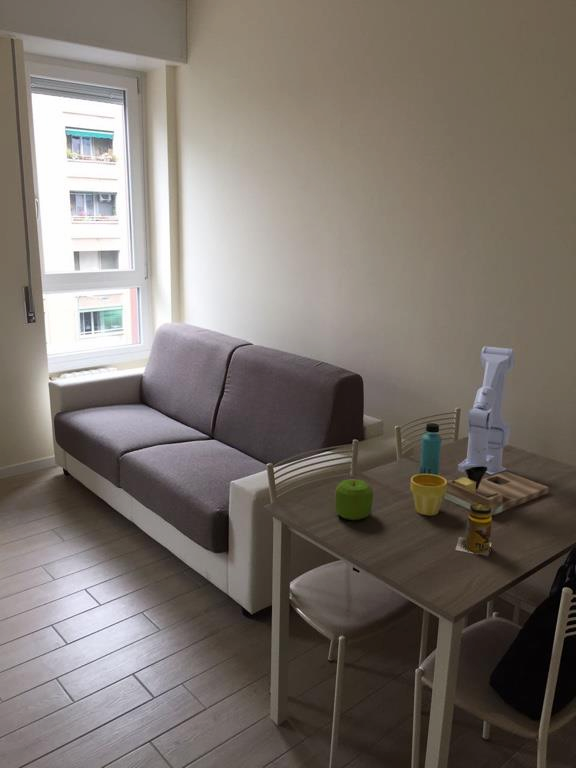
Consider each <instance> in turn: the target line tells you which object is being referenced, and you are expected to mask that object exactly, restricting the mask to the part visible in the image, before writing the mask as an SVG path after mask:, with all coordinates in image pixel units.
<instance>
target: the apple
mask: <svg viewBox="0 0 576 768" xmlns="http://www.w3.org/2000/svg"><path fill="white" fill-rule="evenodd" d="M373 499H374V493H373V488H372V487H371V486H370V485H369V484H368V483H367V482H366V481H365V480H361V479H357V478H356V479H355V478H353V479H352V478H347V479H344V480H342V481H341V482H339V483H338V484H337V485H336V487H335V491H334V507H335V513H336V514H337V515H339V516H340V517H341V518H342V519H344V520H347V519H348V520H347V521H358V520H361V519H364V518H367V517H368V516H369V515H370V514H371V512H372V507H373Z"/></svg>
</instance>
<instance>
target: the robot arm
mask: <svg viewBox="0 0 576 768" xmlns="http://www.w3.org/2000/svg"><path fill="white" fill-rule="evenodd" d="M515 357H516V351H515V349H514V348H507V347H506V348H505V347H495V346H487V345H484V346H483V347H482V349H481V352H480V364H481V366H482V369H484V374H483V375H484V376H483V381H482V387H480V388H478V390H477V392H476V395H475V398H474V401H473V406H472V408H470V409H469V411H468V416H467V425H468V426H467V431H468V441H467V452H466V458H465V459H464V460H463V461H462V462H461V463H458V464H457V471H458V472H461V473H465V472H466V475H467V478H468V479H470V480H473V481H475V482H476V489H478V487H479V484H480V482H481V479H483V477H484V475H485V474H488V475H490V476H493V475H496V474H498V473H501V472H504V471H507V468H506V467H503V466H502V462H503V453H504V447H506V446H508V444H509V440H510V439H509V438H510V423H509V422H508V421H507V420H505V418H503V416H502V415H503V406H504V405H503V404H504V395H505V386H506V376H507V374H508V372H513V370H514V368H515ZM476 489H475V490H476Z"/></svg>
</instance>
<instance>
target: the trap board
mask: <svg viewBox="0 0 576 768" xmlns="http://www.w3.org/2000/svg"><path fill="white" fill-rule="evenodd" d="M460 478H462V476H458V477H455V478H451V479H449V480H446V481H447V490H446V494H445V495H443V499H445V500H448V501H450V502H452V503H454V504H457V505H458V506H461V507H463V508H465V509H467V510H469V511H470V506H471V504H473V503H484V504H487V505H489V506H490V507H491V517H493V516H494V515H497V514H499V513H503V512H505V511H507V510H509V509H512V508H514V507H516V506H519V505H522V504H524V503H527V502H529V501H532V500H535V499H537V498H539V497H542V496H545V495H547V494H549V486H547V485H544V484H542V483H538V482H536V481H533V480H531V479H529V478H525V477H522V476H520V475H518V474H514V473H512V472H509V471H507V470H505V471H502V472H499V473H496V474H493V475H490V476H486V477H484V478H482V479H481V482H480V484H479V487H478V489H476V490H475V492H473V491H470V490H468V489H466V488H463V487H461V486H459V485H456V484H454V483H455V480H457V479H460Z"/></svg>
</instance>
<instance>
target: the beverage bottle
mask: <svg viewBox="0 0 576 768" xmlns="http://www.w3.org/2000/svg"><path fill="white" fill-rule="evenodd" d="M425 431H426V433H424V434H423V435H422V436H421V446H420V461H419V463H420V464H419V474H434V475H438V476H440V469H441V466H440V465H441V450H442V439H443V438H442V437H441V436H440V435H439V432H440V425H439V424H438V423H434V422H433V423H432V422H430V423H427V424H426V426H425Z"/></svg>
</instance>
